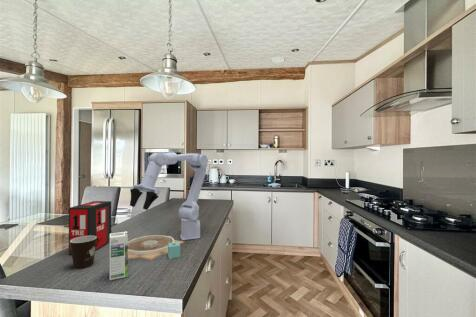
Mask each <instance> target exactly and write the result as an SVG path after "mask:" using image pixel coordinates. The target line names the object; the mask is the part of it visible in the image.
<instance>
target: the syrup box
mask: <svg viewBox="0 0 476 317" xmlns="http://www.w3.org/2000/svg"><path fill="white" fill-rule="evenodd" d="M128 241H129V236H128V231H127V230H126V231H120V232H119V231H118V232H113V233H112V232H111V234H110V240H109V243H108V245H109V278H108V280H109V281H113V280H117V279H118V280H119V279H123V278H128V276H129V260H128Z"/></svg>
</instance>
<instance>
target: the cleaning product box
mask: <svg viewBox="0 0 476 317" xmlns="http://www.w3.org/2000/svg"><path fill="white" fill-rule="evenodd" d="M111 233H112V201H109V200H107V201H106V200H105V201H104V200H103V201H102V200H92V201H89V202H86V203H83V204H82V203H81V204H78V205H75V206H71V207H69V208H68V255H69V256H72V252H71V245H70V240H72V239H74V238H77V237H81V236H96V237H98V239H99V242H98V244H97V246H96V248H95V252H96V251H98V250H100V249H102V248H104V247H105V246H107V245H109V240H110V234H111ZM96 243H97V240H96Z"/></svg>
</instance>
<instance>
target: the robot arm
mask: <svg viewBox="0 0 476 317" xmlns="http://www.w3.org/2000/svg"><path fill="white" fill-rule="evenodd" d="M147 161H148V164H147V167H146V170H145V172H144V175H143V177H142V179H141V182H140V184H132V186H131V188H130V192H129V193H130V201H129V206H130V207H135V206H136V205H137V204H138V203H137V202H138V200H139V199H140V198H141V196H142V194H143V193H144V192H145V193H146V195H145V200H144V203H143V206H142V209H143V210H146V211H148V209H149V208H150V207H151V205H152V204H153V203H154V201H156V200H157V199H159V195H160V193H161V189H159V188H156V187H155V186H156V183H157V181H158V177H159V175H160V173H161V170H162V167H164V166H166V165H167V166H169V165H176V164H177V163H178V162H180V161H185V162H186V163H188V165H189V167H190V168H191V169H192V171H193V172H194V175H193V178H192V183H191V186H190V189H189V192H188V195H187V198H186V200H185V201H184V202H182V204H181V206H180V207H179V209H178V212H177V214H178V217H179V219H180V222H181V224H180V225H181V226H180V227H181V228H180V229H181V230H180V232H181V233H180V234H179V238H180V239H181V241H187V240H195V239H201V221H200V219H198V218H199V211H200V206H199V205H198V200H199V197H200V194H201V190H202V187H203V184H204V180H205V177H206V173H207V167H208V164H209V160H208V157H207V155H206V154H204V153H202V154H200V153H180V154H177V153H176V152H174V151H173V150H170V151H168V152H164V151H160V152H156V153H155V152H154V153H153V152H152V153H151V154H150V156H148V157H147Z"/></svg>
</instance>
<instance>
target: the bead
mask: <svg viewBox="0 0 476 317" xmlns="http://www.w3.org/2000/svg"><path fill="white" fill-rule="evenodd" d="M167 257H168V259H169V260H171V259H179V258H181V245H180V244H179V242H174V243H168V254H167Z"/></svg>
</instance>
